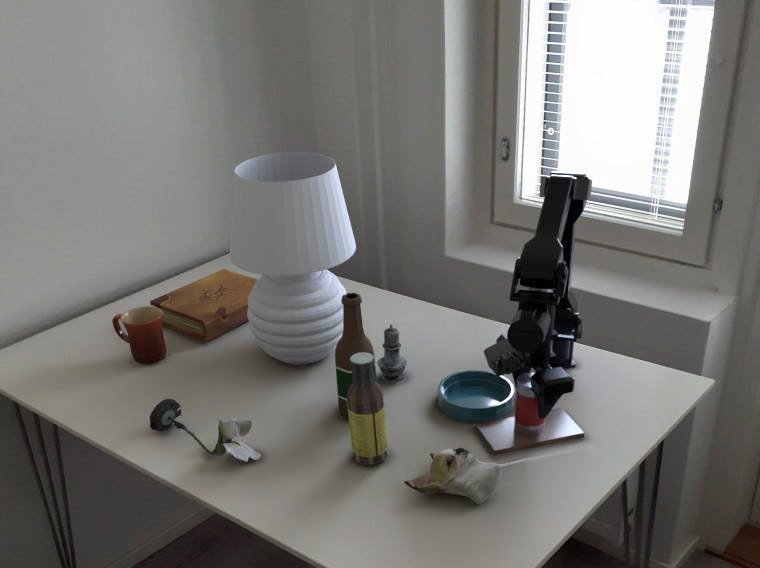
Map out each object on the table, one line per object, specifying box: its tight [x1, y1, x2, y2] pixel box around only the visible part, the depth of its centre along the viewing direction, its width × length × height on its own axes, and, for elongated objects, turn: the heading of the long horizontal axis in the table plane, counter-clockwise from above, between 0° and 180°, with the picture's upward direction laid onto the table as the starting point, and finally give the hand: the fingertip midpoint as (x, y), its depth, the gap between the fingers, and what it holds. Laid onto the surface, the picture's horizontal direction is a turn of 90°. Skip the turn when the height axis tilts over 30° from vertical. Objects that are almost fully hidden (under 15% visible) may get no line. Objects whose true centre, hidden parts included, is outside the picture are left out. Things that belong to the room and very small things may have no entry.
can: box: [514, 371, 545, 436], centre depth 151 cm, size 5×5×10 cm
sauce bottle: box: [347, 352, 388, 467], centre depth 146 cm, size 6×6×20 cm
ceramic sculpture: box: [403, 447, 502, 505], centre depth 139 cm, size 11×9×15 cm
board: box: [474, 407, 585, 456], centre depth 154 cm, size 17×9×1 cm, turn 105°
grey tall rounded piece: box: [377, 324, 408, 384], centre depth 171 cm, size 6×6×12 cm
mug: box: [112, 305, 167, 365], centre depth 184 cm, size 12×9×10 cm
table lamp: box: [229, 151, 357, 365], centre depth 174 cm, size 25×25×40 cm
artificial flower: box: [149, 398, 262, 463], centre depth 155 cm, size 9×22×10 cm, turn 50°
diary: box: [149, 268, 259, 344], centre depth 201 cm, size 23×19×6 cm
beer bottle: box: [334, 292, 377, 421], centre depth 157 cm, size 8×8×24 cm
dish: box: [437, 369, 516, 423], centre depth 163 cm, size 14×14×3 cm
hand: (530, 404), depth 151 cm, fingers open, 9 cm apart
